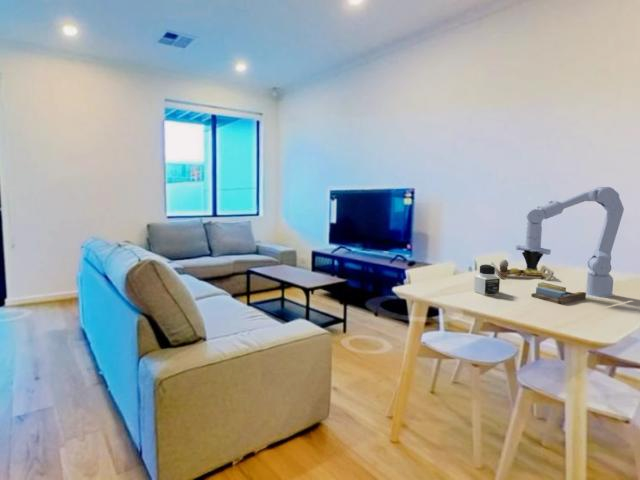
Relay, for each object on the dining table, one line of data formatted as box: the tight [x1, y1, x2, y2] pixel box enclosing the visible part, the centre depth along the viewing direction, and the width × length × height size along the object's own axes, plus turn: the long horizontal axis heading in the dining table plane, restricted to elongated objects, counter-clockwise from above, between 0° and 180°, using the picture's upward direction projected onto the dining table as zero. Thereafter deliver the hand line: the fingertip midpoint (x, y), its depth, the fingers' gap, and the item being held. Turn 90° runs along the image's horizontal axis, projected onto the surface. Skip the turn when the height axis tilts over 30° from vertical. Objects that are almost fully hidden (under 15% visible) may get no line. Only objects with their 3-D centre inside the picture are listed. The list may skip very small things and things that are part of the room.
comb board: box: [530, 291, 587, 305], centre depth 155 cm, size 12×15×3 cm
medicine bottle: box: [473, 264, 501, 297], centre depth 165 cm, size 7×7×12 cm
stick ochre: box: [537, 282, 567, 292], centre depth 161 cm, size 10×3×4 cm, turn 26°
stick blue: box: [535, 286, 567, 299], centre depth 154 cm, size 10×3×4 cm, turn 26°
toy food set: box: [490, 259, 555, 282], centre depth 197 cm, size 25×18×8 cm
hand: (531, 268), depth 169 cm, fingers closed
